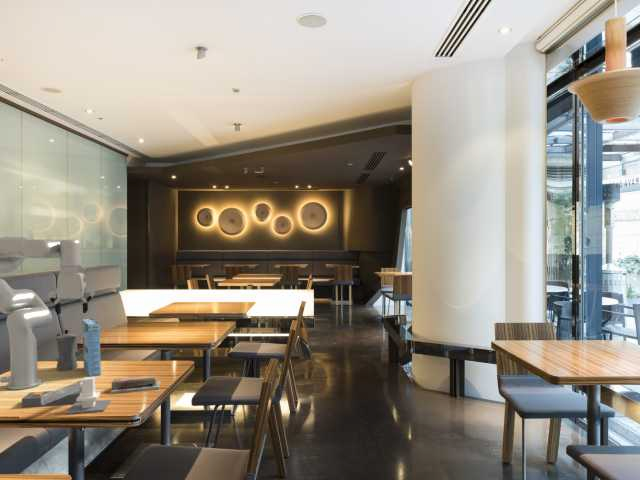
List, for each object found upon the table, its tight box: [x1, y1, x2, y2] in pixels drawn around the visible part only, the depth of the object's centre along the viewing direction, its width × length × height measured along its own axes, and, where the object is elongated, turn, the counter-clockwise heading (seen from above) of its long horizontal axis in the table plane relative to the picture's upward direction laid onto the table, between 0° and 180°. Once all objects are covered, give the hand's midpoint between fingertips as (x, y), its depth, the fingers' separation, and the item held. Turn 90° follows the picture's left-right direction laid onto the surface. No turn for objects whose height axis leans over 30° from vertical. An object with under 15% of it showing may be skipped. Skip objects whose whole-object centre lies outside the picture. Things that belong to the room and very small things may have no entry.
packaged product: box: [110, 375, 161, 395], centre depth 199 cm, size 18×5×10 cm
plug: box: [76, 376, 102, 408], centre depth 176 cm, size 6×6×10 cm
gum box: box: [81, 318, 102, 377], centre depth 227 cm, size 20×5×23 cm, turn 32°
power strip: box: [21, 390, 82, 408], centre depth 184 cm, size 21×8×4 cm, turn 101°
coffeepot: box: [55, 329, 78, 372], centre depth 236 cm, size 15×9×18 cm, turn 54°
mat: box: [65, 399, 112, 415], centre depth 176 cm, size 12×11×1 cm
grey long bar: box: [41, 380, 82, 405], centre depth 175 cm, size 18×2×3 cm, turn 164°
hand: (71, 313), depth 199 cm, fingers open, 9 cm apart
